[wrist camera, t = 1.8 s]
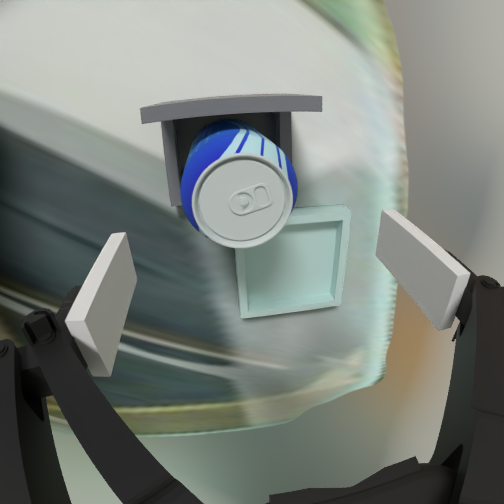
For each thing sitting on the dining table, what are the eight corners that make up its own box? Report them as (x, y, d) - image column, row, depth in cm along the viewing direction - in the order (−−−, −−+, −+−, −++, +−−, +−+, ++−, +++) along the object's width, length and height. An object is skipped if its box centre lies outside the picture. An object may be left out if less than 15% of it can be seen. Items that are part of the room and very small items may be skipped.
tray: (239, 307, 44) (240, 318, 42) (231, 213, 38) (233, 221, 36) (334, 294, 46) (340, 305, 44) (343, 204, 39) (351, 211, 37)
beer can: (248, 200, 37) (276, 273, 23) (179, 178, 35) (162, 241, 21) (276, 133, 34) (326, 167, 20) (204, 107, 31) (202, 120, 18)
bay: (173, 199, 36) (160, 247, 25) (162, 102, 30) (140, 108, 20) (286, 188, 37) (319, 231, 27) (284, 93, 32) (322, 96, 21)
